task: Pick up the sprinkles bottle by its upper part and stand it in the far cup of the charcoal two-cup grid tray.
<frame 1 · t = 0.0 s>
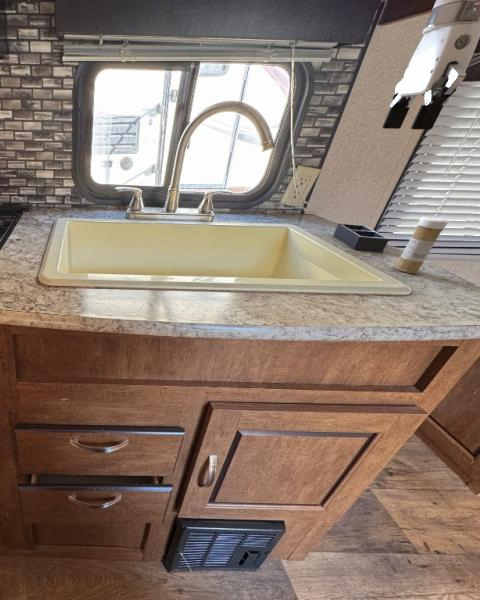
hand: (404, 128, 64), 32 cm above the worktop, tool pointing down, fingers open, 9 cm apart
grid: (356, 243, 99), on the worktop
sprinkles bottle: (404, 271, 81), on the worktop
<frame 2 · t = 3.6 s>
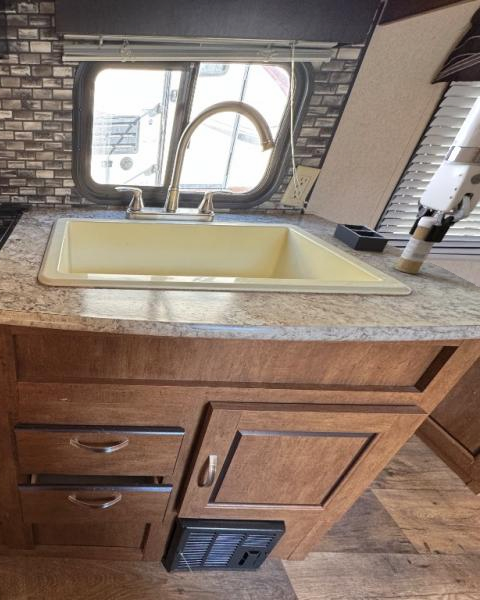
hand: (424, 237, 76), 9 cm above the worktop, tool pointing down, fingers closed on sprinkles bottle, 4 cm apart
sprinkles bottle: (404, 271, 81), on the worktop, touching gripper
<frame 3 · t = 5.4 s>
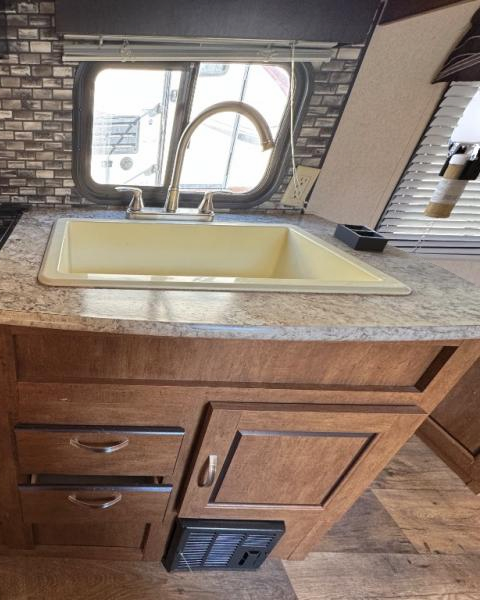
hand: (456, 177, 70), 22 cm above the worktop, tool pointing down, fingers closed on sprinkles bottle, 4 cm apart
sprinkles bottle: (434, 217, 75), point 14 cm above the worktop, touching gripper
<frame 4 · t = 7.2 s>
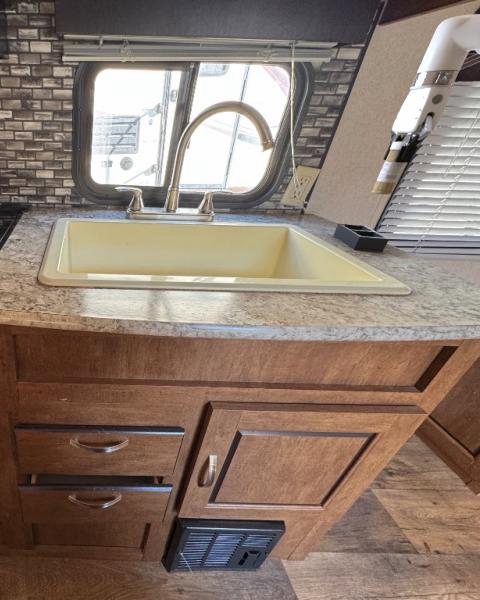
hand: (396, 160, 87), 24 cm above the worktop, tool pointing down, fingers closed on sprinkles bottle, 4 cm apart
sprinkles bottle: (380, 194, 91), point 15 cm above the worktop, touching gripper
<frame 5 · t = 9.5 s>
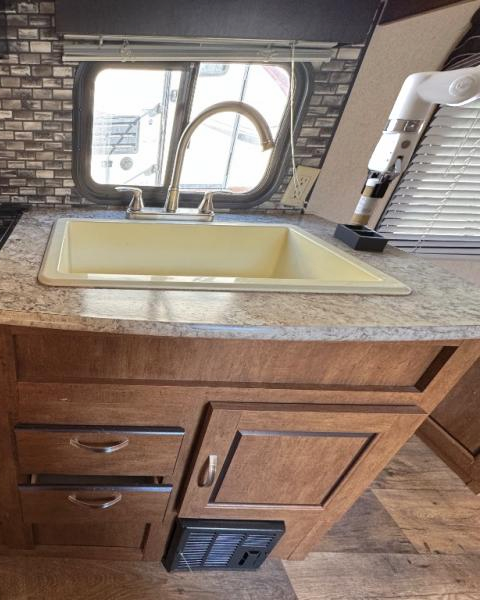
hand: (371, 195, 95), 14 cm above the worktop, tool pointing down, fingers closed on sprinkles bottle, 4 cm apart
sprinkles bottle: (357, 224, 99), point 5 cm above the worktop, touching gripper
when the fingers open (10 cm above the worktop, at t = 11.0 s): sprinkles bottle stays where it is, resting on grid.
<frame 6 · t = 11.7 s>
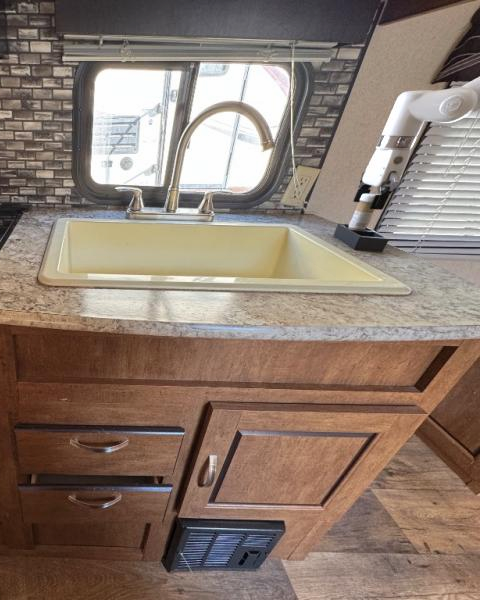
hand: (366, 205, 96), 11 cm above the worktop, tool pointing down, fingers open, 9 cm apart
sprinkles bottle: (352, 238, 101), point 1 cm above the worktop, touching grid
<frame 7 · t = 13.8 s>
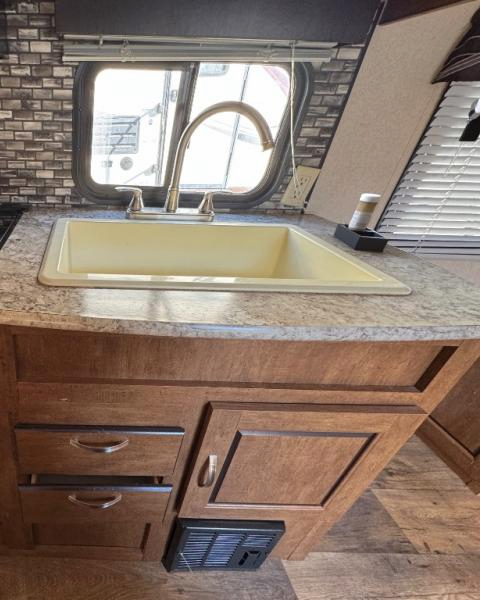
nothing on the worktop moved.
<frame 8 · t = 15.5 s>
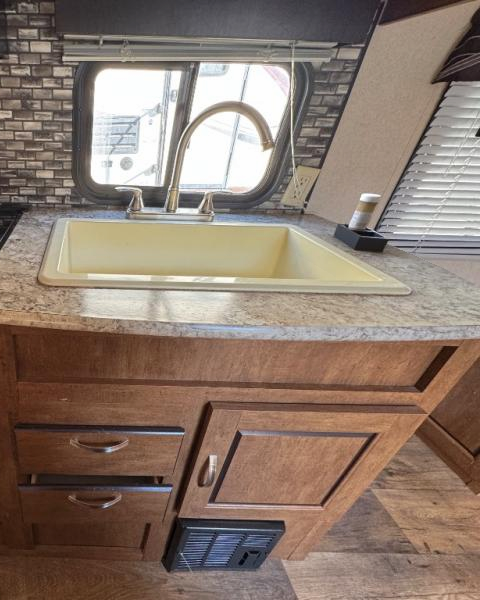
nothing on the worktop moved.
at the end: sprinkles bottle 0.1 cm from the target spot in the grid, point 0.6 cm above the grid's base; sprinkles bottle tilted 0° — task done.
